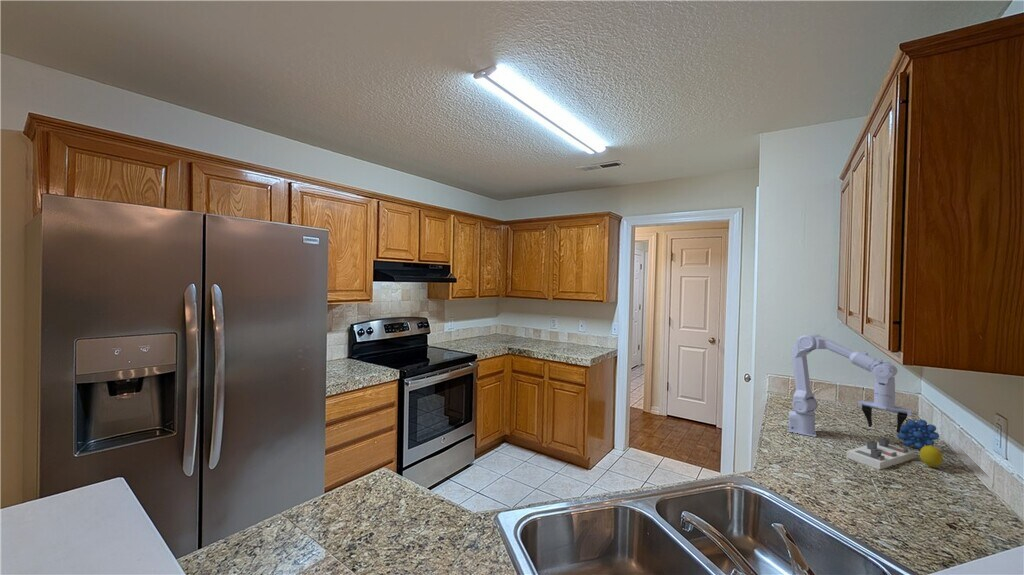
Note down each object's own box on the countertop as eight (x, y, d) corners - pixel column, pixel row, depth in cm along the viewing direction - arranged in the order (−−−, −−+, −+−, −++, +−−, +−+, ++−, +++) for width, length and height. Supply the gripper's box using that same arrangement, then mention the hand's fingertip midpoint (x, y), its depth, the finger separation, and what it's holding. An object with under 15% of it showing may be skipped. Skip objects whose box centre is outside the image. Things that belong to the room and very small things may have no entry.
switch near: (877, 458, 136) (877, 451, 136) (870, 456, 138) (870, 449, 138) (881, 457, 137) (881, 450, 137) (874, 455, 139) (874, 447, 139)
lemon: (947, 471, 133) (947, 448, 133) (931, 470, 133) (931, 448, 133) (930, 463, 138) (930, 442, 138) (915, 463, 138) (915, 441, 138)
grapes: (936, 449, 150) (936, 419, 150) (940, 455, 145) (940, 424, 145) (895, 441, 158) (895, 412, 158) (897, 446, 153) (898, 417, 152)
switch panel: (879, 469, 134) (880, 459, 134) (846, 457, 143) (846, 448, 143) (914, 458, 142) (914, 449, 142) (880, 447, 151) (880, 438, 151)
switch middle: (873, 449, 143) (873, 442, 143) (867, 447, 145) (867, 440, 145) (877, 448, 144) (877, 441, 144) (870, 446, 146) (870, 439, 146)
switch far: (885, 446, 146) (885, 439, 146) (878, 444, 148) (878, 437, 148) (888, 445, 147) (888, 438, 147) (882, 443, 149) (882, 436, 149)
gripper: (857, 391, 147) (856, 426, 147) (911, 400, 136) (910, 437, 136) (860, 388, 152) (859, 421, 152) (912, 396, 141) (912, 432, 141)
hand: (883, 429), depth 144 cm, fingers open, 7 cm apart
